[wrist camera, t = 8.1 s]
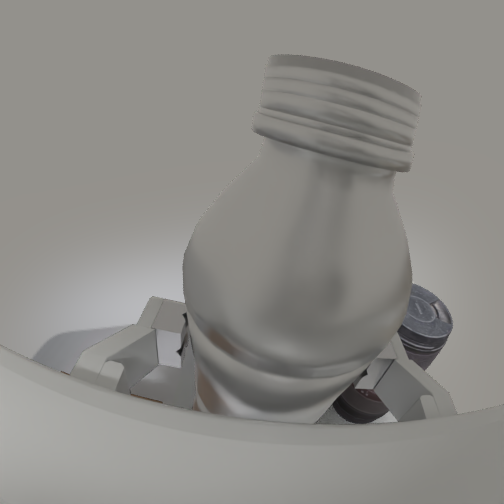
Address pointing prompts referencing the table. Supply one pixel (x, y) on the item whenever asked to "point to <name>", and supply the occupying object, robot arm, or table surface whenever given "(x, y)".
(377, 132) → the plastic bottle
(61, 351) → the table surface
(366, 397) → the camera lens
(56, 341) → the table surface
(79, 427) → the robot arm
